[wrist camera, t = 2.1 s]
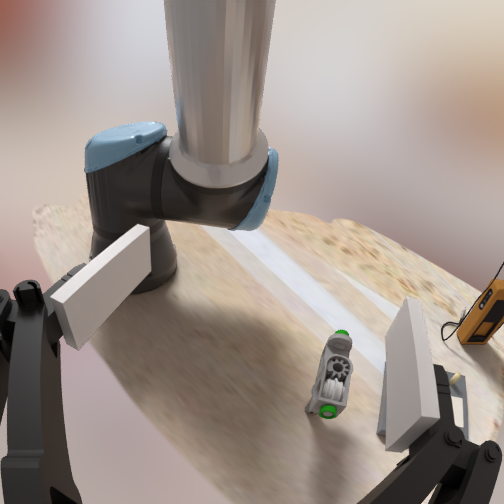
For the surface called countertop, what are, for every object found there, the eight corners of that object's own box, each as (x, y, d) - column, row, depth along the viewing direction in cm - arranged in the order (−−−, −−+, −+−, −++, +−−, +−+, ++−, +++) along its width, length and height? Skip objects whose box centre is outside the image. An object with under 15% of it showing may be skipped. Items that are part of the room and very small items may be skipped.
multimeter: (479, 309, 53) (526, 229, 41) (496, 345, 45) (554, 262, 33) (427, 304, 53) (475, 212, 41) (443, 344, 44) (506, 249, 33)
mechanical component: (329, 380, 38) (357, 332, 32) (314, 449, 30) (346, 413, 24) (308, 374, 39) (331, 325, 33) (289, 442, 31) (315, 406, 25)
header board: (376, 434, 32) (389, 422, 30) (385, 362, 41) (395, 347, 39) (461, 448, 29) (477, 437, 27) (459, 381, 38) (472, 368, 36)
